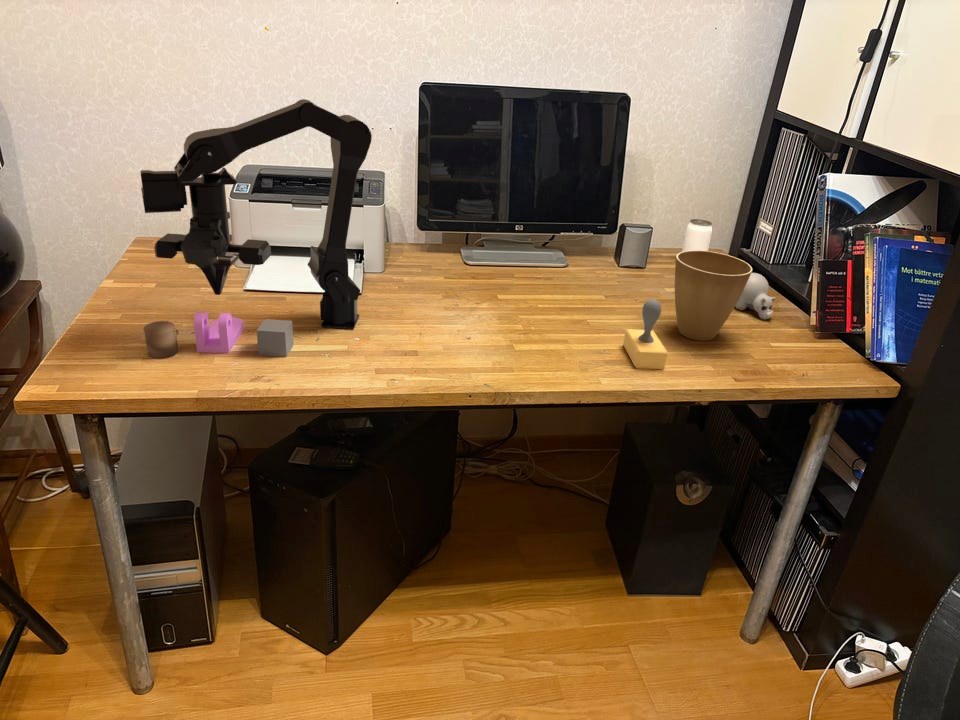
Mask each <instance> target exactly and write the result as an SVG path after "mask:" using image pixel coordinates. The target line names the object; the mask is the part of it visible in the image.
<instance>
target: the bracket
mask: <svg viewBox="0 0 960 720" xmlns="http://www.w3.org/2000/svg"><path fill="white" fill-rule="evenodd" d="M193 327H194V329H193V330H194V334H195V335H194V336H195V343H196V344H195V346H196V352H197V353H213V354H217V353H218V354H230V352H231V351H232V349H233V348H234V346H235V344H236V343H237V341H238V339H239V337H240V336H241V334H242V332H243V331H244V328H245V327H244V320H243V319H241V318H239V317H235V316H233V315H232V314H231V313H227V312H221V313H220V314H219V317H218V318H217V319H215V320H213V322H212V323H211V324H210V320H209V315H208V313H207V312H206V311H196V312H195V313H194V318H193Z"/></svg>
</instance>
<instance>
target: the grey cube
mask: <svg viewBox="0 0 960 720" xmlns="http://www.w3.org/2000/svg"><path fill="white" fill-rule="evenodd" d="M293 328H294V327H293V320H283V319H267V318H265V319H264V320H263V321H262V322H261V324H260V325H259V327H258V328H257V329H256V338H257V339H256V340H257V348H258V349H257V351H258V356H264V357H281V358H287V357H288V355H289V354H290V352H291V350H292V348H293V347H294V330H293Z"/></svg>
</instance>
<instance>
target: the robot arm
mask: <svg viewBox="0 0 960 720" xmlns="http://www.w3.org/2000/svg"><path fill="white" fill-rule="evenodd" d="M309 127H310V128H312V129H314V130H316V131H318V132H320V133H322V134H324V135H326V136H328V137H329V138H330V150H331V158H332V164H333V167H332V174H331V180H330V181H331V182H330V188H329V195H328V201H327V206H326V207H327V209H326V214H325V221H324V227H323V228H324V229H323V234H322V235H323V236H322V239H321V241H320V243H319V245H318V246H314V245H311V246H310V248H309V249H310V259H309V260H308V263H307V266H308V268H309V269H310V273H311V275H312V277H313V278H314V280H315V281H316V283H317V284H318V286H319V287H320V288H321V290H323V293H322V298H321V300H320V301H319V310H320V311H319V312H320V314H319V315H320V320H321V325H320V326H321V327H322V328H333V329H347V330H354V329H355V328H356V325H357V323H358V320H359V318H360V314H359V313H358V299H359V296H360V293H361V289H360V288H359V286H357V284H356V283H355V282H354V281H353V279H352V278H351V277H350V276H349V260H348V254H347V240H348V234H349V227H350V222H351V221H350V220H351V214H352V208H353V202H354V195H355V191H356V183H357V177H358V174H359V173H358V172H359V170H360V168H362V165H363V163H364V161H366V159H367V155H368V152H369V149H370V146H371V144H372V140H373V139H372V136H373V135H372V132H371V130H370V128H369V126H368V125H367V124H366V123H365V122H363V121H361V120H360V119H358V118H356V117H355V116H352V115H349V114H343V115H337V114H335V113H333V112H331V111H329V110H327V109H324V108H323V107H321V106H318V105H317V104H315V103H314V102H312V101H311V100H309V99H305V98H303V99H302V98H301V99H298V100H297V101H296V102H295V103H292V104H291V105H290V104H289V105H287V106H284V107H282V108H280V109H277V110H274V111H271V112H269V113H266V114H264V115H260V116H258V117H255V118H252V119H251V120H247V121H244V122H242V123H240V124H236V125H235V126H229V127H219V128H218V127H217V128H209V129H205V130H200V131H199V130H198V131H194V132H193V133H191V134H190V133H189V135H188V136H187V137H186V138H185V141H184V142H183V143H184V144H183V154H182V156H181V157H179V160H178V161H177V163H176V164H175V166H174V167H173V170H150V169H149V170H148V169H146V170H145V169H144V170H143V169H142V170H140V172H139V173H140V181H141V188H140V189H141V190H140V191H141V196H142V203H143V209H144V214H155V213H156V214H157V213H174V212H175V213H176V212H177V213H179V212H182V209H185V206H187V205H188V197H187V190H186V189H187V188H186V187H188V189H189V196H190V197H189V198H190V205H191V207H190V208H191V215H192V217H191V218H189V229H188V232H187V234H181V233H170V232H169V233H166V234H165V235H163V236H162V237H161V238H159V239H158V240H156V242H155V244H154V247H153V249H154V254H155V257H156V258H157V259H158V258H160V259H174V258H175V256H177V254H178V252H182V255H183V258H184V259H183V260H184V262H185V263H186V264H187V265H195V266H196V267H197V268H199V269H200V270H201V272H202V273H203V274H204V275H205V278H206V279H207V282H208V284H209V285H210V287H211V290H212V291H213V293H214V295H216V296H220V295H221V294H222V292H223V288H224V287H225V283H226V280H227V276H228V273H229V271H230V268H231V267H232V266H233V265H234V263H236V262H237V261H238V260H239V261H240V262H241V263H242V264H243V265H253V266H254V265H255V266H261V265H264V264H265V263H266V262H267V260H268V259H269V258H270V257H271V255H272V251H271V250H272V247H271V246H272V245H270V243H269V242H268V241H267V240H262V239H251V238H250V239H247V240H246V241H244V242H243V243H242V244H233V243H232V244H231V242H232V241H233V234H230V228H229V227H230V226H229V225H230V224H229V219H231V212H230V211H228V207H227V206H228V205H227V204H228V203H227V195H226V194H227V193H226V186H228V185H230V186H231V185H237V183H238V182H237V179H236V177H234V175H232V174H231V173H230V172H228V170H227V168H226V167H225V166H227V165H229V164H230V163H232V162H233V161H234V160H236V159H237V158H238V157H239V156H240V155H242V154H243V153H245V152H246V151H248V150H251V149H254V148H257V147H259V146H262V145H265V144H267V143H269V142H272V141H274V140H277V139H280V138H282V137H285V136H288V135H290V134H292V133H295V132H297V131H301V130H303V129H306V128H309ZM219 170H220V171H219ZM217 171H218V172H217Z"/></svg>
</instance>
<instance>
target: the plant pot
mask: <svg viewBox="0 0 960 720" xmlns="http://www.w3.org/2000/svg"><path fill="white" fill-rule="evenodd" d="M751 273H753V267H752V266H751V265H750V264H749V263H748V262H746V261H745V260H742V259H740V258H737V257H735V256H732V255H729V254H726V253H721V252H715V251H709V250H708V251H698V250H695V251H683V252H682V251H680V252H679V253H677V254H676V256H675V267H674V304H675V316H676V322H677V328H678V332H679V333H680V334H681V335H682V336H684V337H686V338H689V339H690V340H695V341H701V342H702V341H703V342H704V341H711V340H713V339H714V338H715V337H716V335H717V334H718V333H719V332H720V330H721V329H722V327H723V326H724V324H725V323H726V322H727V320H728V318H729V317H730V316H731V314H732V312H733V311H734V309H735V308H736V307H735V305H736V304H737V302H738V300H739V298H740V296H741V294H742V292H743V290H744V288H745V286H746V284H747V281H748V279H749V277H750V275H751Z"/></svg>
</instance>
